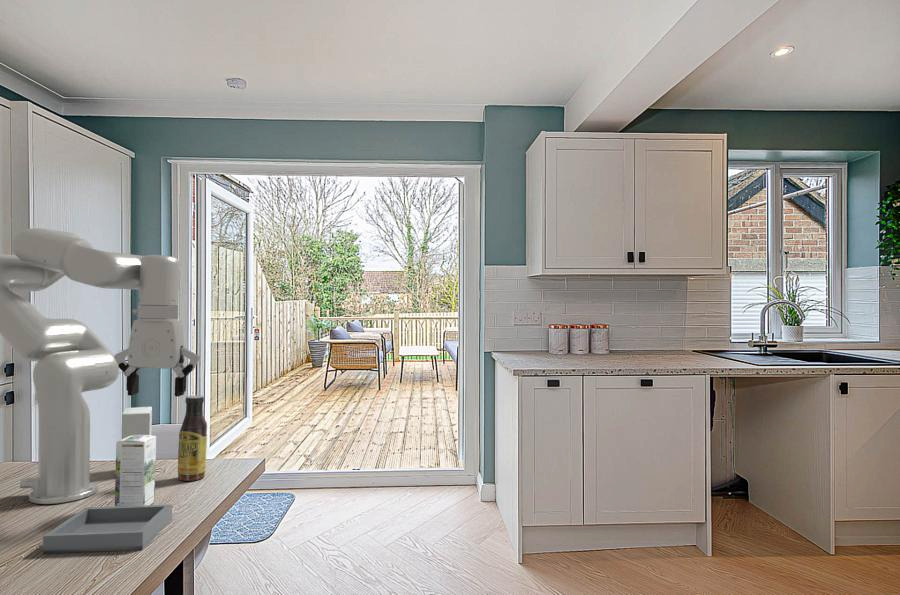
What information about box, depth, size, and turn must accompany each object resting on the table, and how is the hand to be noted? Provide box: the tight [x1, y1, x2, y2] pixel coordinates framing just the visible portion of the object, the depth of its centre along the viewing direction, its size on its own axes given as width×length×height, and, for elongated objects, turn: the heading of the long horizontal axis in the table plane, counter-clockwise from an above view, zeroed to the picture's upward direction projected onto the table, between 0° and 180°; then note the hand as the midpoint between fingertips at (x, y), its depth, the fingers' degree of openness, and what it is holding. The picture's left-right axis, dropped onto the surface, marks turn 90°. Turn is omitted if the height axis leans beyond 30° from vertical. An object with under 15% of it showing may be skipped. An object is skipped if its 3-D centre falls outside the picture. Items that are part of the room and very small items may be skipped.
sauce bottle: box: [177, 394, 208, 482], centre depth 142 cm, size 6×6×20 cm
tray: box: [42, 504, 173, 555], centre depth 107 cm, size 16×14×3 cm
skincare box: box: [120, 406, 153, 440], centre depth 148 cm, size 8×7×16 cm
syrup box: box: [114, 434, 157, 507], centre depth 121 cm, size 6×6×14 cm
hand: (156, 395), depth 124 cm, fingers open, 9 cm apart
